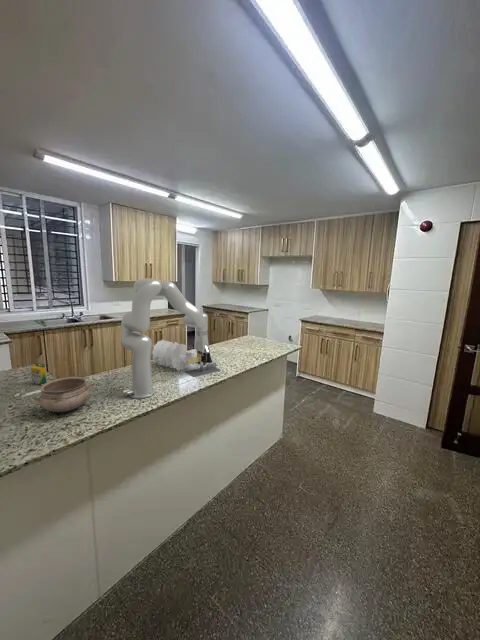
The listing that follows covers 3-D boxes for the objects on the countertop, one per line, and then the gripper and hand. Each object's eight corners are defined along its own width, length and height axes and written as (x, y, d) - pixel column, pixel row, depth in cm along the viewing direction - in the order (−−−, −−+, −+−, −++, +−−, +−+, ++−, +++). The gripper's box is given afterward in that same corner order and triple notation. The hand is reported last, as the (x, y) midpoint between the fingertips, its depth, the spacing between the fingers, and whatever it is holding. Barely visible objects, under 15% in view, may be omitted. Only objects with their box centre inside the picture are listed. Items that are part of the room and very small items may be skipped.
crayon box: (32, 383, 150) (29, 363, 148) (37, 381, 153) (35, 362, 151) (41, 385, 148) (39, 365, 146) (47, 383, 151) (45, 363, 149)
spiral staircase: (180, 378, 173) (154, 369, 185) (197, 361, 185) (171, 353, 197) (172, 357, 163) (144, 348, 176) (190, 340, 175) (163, 333, 188)
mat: (193, 378, 164) (193, 377, 164) (184, 372, 173) (183, 371, 173) (221, 370, 177) (221, 370, 177) (211, 365, 186) (211, 365, 186)
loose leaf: (189, 365, 165) (189, 357, 164) (186, 363, 169) (185, 355, 168) (206, 360, 173) (206, 353, 172) (202, 358, 176) (202, 351, 176)
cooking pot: (89, 394, 139) (88, 371, 137) (103, 407, 126) (101, 382, 124) (29, 410, 121) (26, 385, 119) (37, 427, 108) (34, 399, 106)
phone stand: (203, 366, 186) (203, 349, 184) (197, 364, 190) (197, 347, 188) (212, 362, 193) (212, 346, 191) (206, 361, 197) (206, 345, 195)
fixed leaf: (201, 372, 173) (201, 357, 171) (199, 370, 175) (199, 356, 173) (217, 368, 181) (217, 354, 179) (214, 367, 183) (214, 353, 181)
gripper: (189, 331, 174) (190, 358, 177) (203, 336, 162) (204, 365, 165) (199, 329, 179) (199, 356, 182) (214, 334, 166) (214, 362, 170)
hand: (201, 360), depth 173 cm, fingers closed on loose leaf, 4 cm apart
